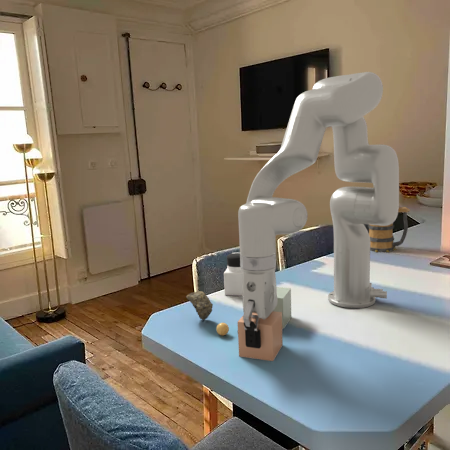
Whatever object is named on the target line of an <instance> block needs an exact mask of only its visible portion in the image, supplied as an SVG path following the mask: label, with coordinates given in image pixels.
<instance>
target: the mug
mask: <svg viewBox="0 0 450 450" xmlns="http://www.w3.org/2000/svg"><path fill="white" fill-rule="evenodd" d="M409 212H411V209H410V208H408V207H406V206H402V207H399V210H398V213H402V220H403V232H402V235H401V238H400V240H398V241H395V237H394V234H393V229H394V228H395V224H394V222H393V223H392V224H390V225H387V226H379V225H369V224H367V227H366V228H367V229H368V233H369V236H370V252H376V253H390V252H393V251H397V250H398V249H396V247H398V246H401V245H402V244H403V243H404V241H405V239H406V237H407V234H408V230H409V225H408V224H409V223H408V213H409ZM394 241H395V242H394Z"/></svg>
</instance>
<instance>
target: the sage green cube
mask: <svg viewBox="0 0 450 450" xmlns="http://www.w3.org/2000/svg"><path fill="white" fill-rule="evenodd" d="M276 287H277V306H276V307H275V309H274V311H275V312H282V330H284V329H285V328H286V327H287V325H288V323H289V321H290V320H291V318H292V289H291V287H280V286H276Z"/></svg>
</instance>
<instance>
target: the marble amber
mask: <svg viewBox="0 0 450 450" xmlns="http://www.w3.org/2000/svg"><path fill="white" fill-rule="evenodd" d="M215 329H216V333H217V334H218V335H219V336H225V335H227V334H229V331H230V327H229V325H228V324H227V323H225V322H220V323H218V324H217V325H216V328H215Z"/></svg>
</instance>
